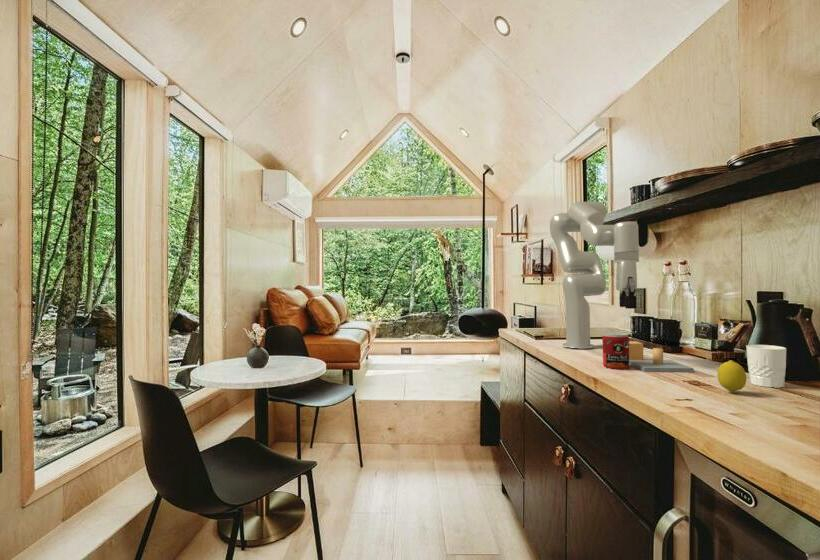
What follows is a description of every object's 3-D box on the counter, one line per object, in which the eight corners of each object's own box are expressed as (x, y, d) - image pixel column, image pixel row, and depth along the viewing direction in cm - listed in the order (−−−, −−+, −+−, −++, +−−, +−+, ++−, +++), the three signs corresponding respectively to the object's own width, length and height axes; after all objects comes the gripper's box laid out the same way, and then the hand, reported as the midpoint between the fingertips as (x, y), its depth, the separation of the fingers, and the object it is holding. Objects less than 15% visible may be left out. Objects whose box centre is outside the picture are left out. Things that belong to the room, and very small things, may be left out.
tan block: (618, 359, 142) (617, 341, 142) (635, 359, 141) (635, 341, 142) (625, 362, 136) (624, 343, 136) (643, 362, 135) (643, 343, 136)
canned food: (605, 369, 126) (604, 334, 126) (601, 364, 134) (600, 331, 134) (632, 370, 124) (631, 335, 124) (626, 365, 131) (625, 332, 132)
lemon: (752, 396, 94) (751, 362, 94) (725, 395, 95) (724, 362, 95) (738, 390, 99) (737, 358, 100) (713, 389, 101) (712, 358, 101)
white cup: (794, 386, 102) (793, 347, 102) (776, 390, 99) (775, 350, 99) (758, 380, 110) (757, 343, 110) (740, 383, 107) (739, 345, 107)
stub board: (626, 363, 135) (626, 345, 135) (671, 363, 133) (670, 345, 133) (644, 371, 122) (644, 352, 122) (693, 372, 120) (693, 352, 120)
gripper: (610, 259, 146) (611, 306, 146) (619, 256, 129) (620, 309, 129) (632, 259, 144) (634, 306, 143) (645, 255, 127) (646, 309, 127)
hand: (627, 307), depth 136 cm, fingers open, 9 cm apart
